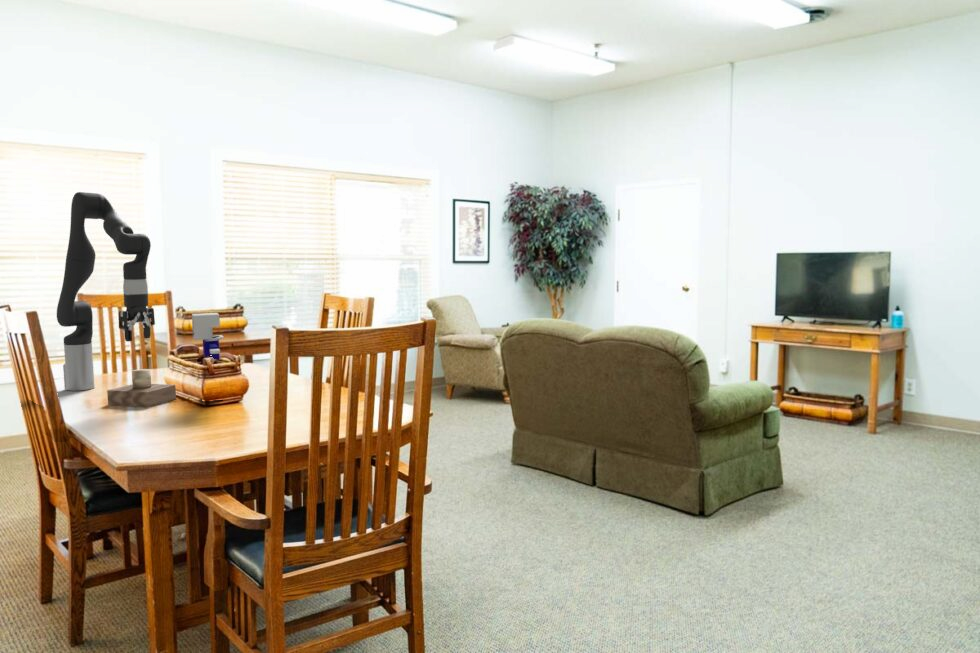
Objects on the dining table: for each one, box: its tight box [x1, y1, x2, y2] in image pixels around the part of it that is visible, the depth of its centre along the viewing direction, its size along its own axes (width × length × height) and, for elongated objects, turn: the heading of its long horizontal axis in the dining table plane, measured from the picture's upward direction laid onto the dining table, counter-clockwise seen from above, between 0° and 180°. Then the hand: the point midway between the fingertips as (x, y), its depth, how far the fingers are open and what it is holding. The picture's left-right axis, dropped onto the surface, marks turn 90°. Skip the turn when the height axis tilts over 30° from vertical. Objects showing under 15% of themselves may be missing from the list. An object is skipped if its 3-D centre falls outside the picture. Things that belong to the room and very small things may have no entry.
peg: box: [131, 368, 152, 389], centre depth 255 cm, size 6×6×10 cm
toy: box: [191, 312, 224, 359], centre depth 257 cm, size 35×10×30 cm, turn 25°
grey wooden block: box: [106, 383, 177, 408], centre depth 256 cm, size 16×14×5 cm
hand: (138, 339), depth 255 cm, fingers open, 8 cm apart
